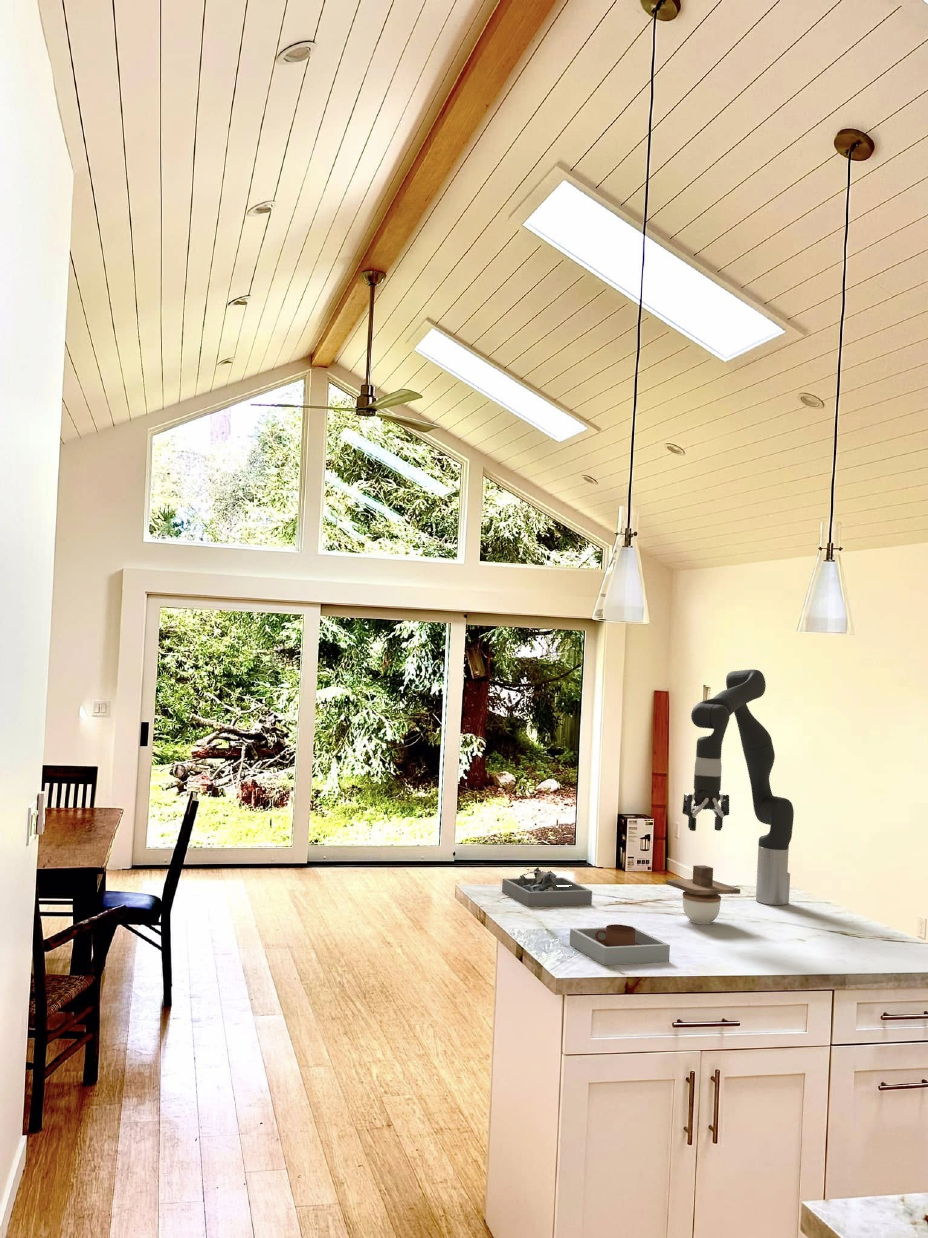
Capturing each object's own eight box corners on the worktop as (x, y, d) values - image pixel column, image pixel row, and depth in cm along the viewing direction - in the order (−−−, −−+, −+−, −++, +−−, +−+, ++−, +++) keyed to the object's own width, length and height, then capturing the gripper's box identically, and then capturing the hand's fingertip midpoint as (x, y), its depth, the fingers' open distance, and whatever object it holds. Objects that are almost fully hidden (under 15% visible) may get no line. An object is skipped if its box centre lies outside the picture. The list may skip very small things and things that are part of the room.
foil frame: (562, 890, 329) (563, 877, 329) (591, 904, 311) (592, 891, 311) (501, 891, 321) (502, 878, 321) (527, 906, 303) (528, 892, 304)
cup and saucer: (604, 960, 253) (605, 934, 253) (589, 946, 264) (590, 922, 265) (651, 960, 255) (652, 934, 255) (633, 946, 267) (634, 922, 267)
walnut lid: (709, 883, 307) (710, 861, 308) (740, 893, 293) (741, 871, 294) (665, 884, 302) (666, 862, 302) (695, 894, 288) (696, 872, 288)
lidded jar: (673, 920, 298) (675, 886, 298) (696, 915, 305) (698, 883, 305) (704, 928, 290) (706, 894, 290) (727, 924, 297) (729, 890, 297)
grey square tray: (631, 941, 271) (632, 926, 271) (669, 961, 254) (669, 945, 254) (569, 944, 264) (570, 928, 264) (603, 965, 248) (604, 948, 248)
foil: (503, 883, 319) (539, 854, 325) (518, 912, 320) (554, 883, 327) (522, 890, 308) (559, 860, 314) (538, 920, 310) (575, 890, 316)
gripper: (720, 772, 305) (718, 828, 304) (679, 771, 300) (676, 828, 299) (736, 775, 298) (733, 832, 297) (694, 775, 293) (691, 833, 292)
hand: (705, 830), depth 298 cm, fingers open, 8 cm apart
